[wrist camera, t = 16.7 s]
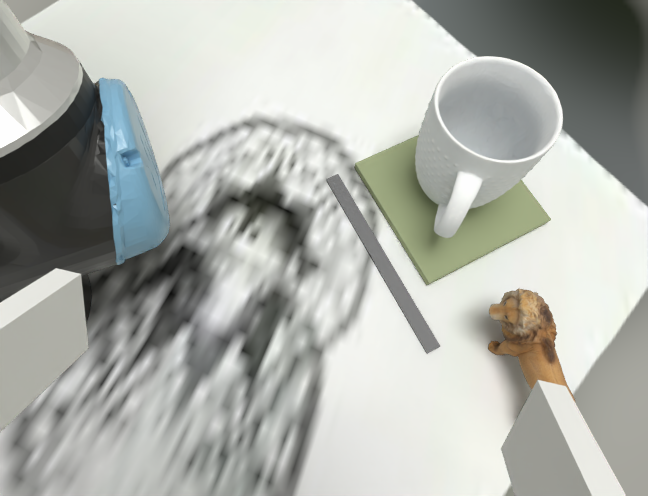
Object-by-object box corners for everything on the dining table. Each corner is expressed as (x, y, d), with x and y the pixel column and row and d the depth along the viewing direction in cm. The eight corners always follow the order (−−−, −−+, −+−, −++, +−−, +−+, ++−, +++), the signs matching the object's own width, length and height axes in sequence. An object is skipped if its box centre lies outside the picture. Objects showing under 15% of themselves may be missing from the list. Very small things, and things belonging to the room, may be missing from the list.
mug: (478, 272, 43) (543, 224, 30) (379, 237, 44) (403, 177, 32) (507, 158, 48) (574, 76, 35) (417, 129, 49) (452, 40, 36)
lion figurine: (458, 314, 42) (494, 294, 34) (503, 297, 43) (549, 273, 35) (528, 462, 38) (590, 482, 29) (577, 440, 38) (652, 454, 30)
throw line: (326, 180, 47) (326, 179, 47) (337, 175, 48) (337, 174, 47) (426, 353, 41) (427, 353, 41) (439, 346, 41) (440, 346, 41)
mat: (354, 167, 48) (355, 163, 47) (467, 117, 51) (470, 112, 50) (426, 285, 43) (429, 283, 42) (546, 223, 46) (551, 219, 45)
